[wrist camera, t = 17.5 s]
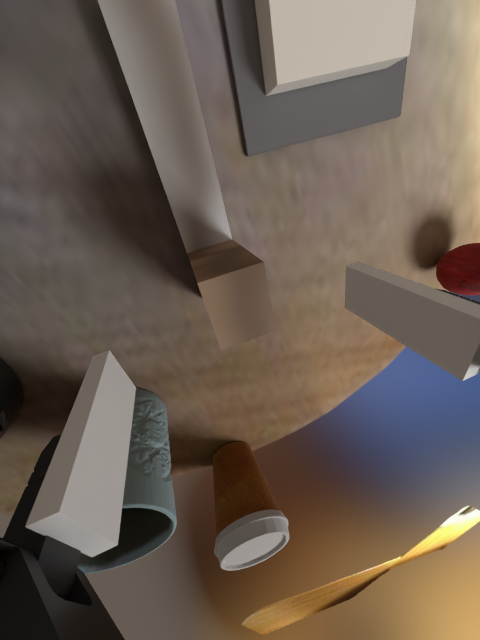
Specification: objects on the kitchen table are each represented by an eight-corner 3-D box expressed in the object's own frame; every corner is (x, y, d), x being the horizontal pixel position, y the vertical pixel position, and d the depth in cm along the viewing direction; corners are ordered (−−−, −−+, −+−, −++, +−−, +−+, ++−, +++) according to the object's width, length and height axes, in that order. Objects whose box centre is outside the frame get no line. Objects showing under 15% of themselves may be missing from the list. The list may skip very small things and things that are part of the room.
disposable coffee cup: (243, 425, 34) (276, 521, 24) (267, 450, 40) (302, 539, 29) (190, 457, 34) (199, 567, 24) (220, 478, 40) (239, 576, 30)
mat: (246, 156, 18) (248, 155, 18) (186, -196, 11) (186, -209, 11) (396, 117, 20) (400, 116, 20) (432, -212, 13) (439, -223, 12)
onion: (418, 290, 31) (488, 317, 24) (419, 252, 28) (499, 271, 21) (455, 269, 31) (536, 290, 24) (460, 229, 28) (553, 240, 21)
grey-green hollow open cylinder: (172, 379, 27) (176, 492, 17) (173, 436, 31) (176, 551, 21) (70, 389, 24) (0, 534, 14) (88, 450, 28) (44, 592, 18)
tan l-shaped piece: (203, 298, 23) (221, 350, 15) (100, 7, 13) (6, -255, 5) (240, 286, 23) (275, 330, 16) (168, -5, 13) (172, -260, 6)
